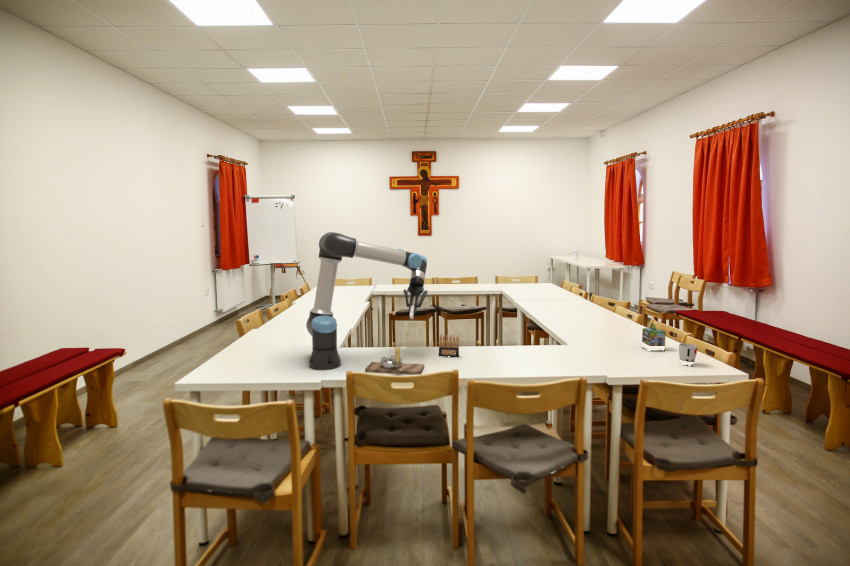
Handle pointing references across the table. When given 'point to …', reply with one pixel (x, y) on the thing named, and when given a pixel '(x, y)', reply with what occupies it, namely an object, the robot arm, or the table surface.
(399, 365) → the silver teapot
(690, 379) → the table surface
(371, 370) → the base plate
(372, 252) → the robot arm
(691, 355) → the cup
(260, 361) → the table surface
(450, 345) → the ammunition clip
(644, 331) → the lunch box
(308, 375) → the table surface
